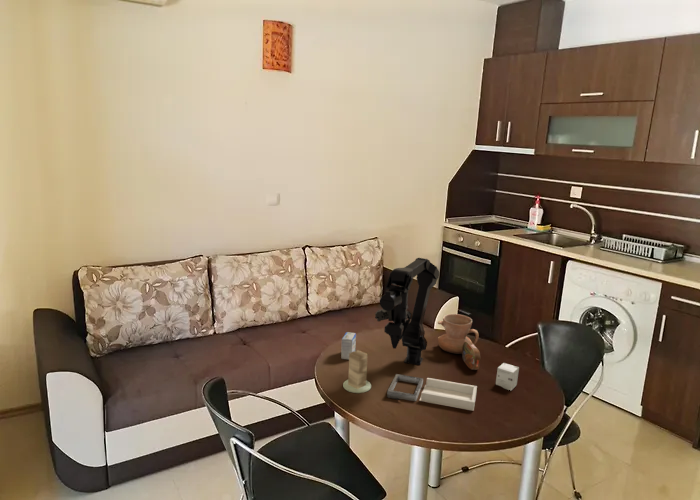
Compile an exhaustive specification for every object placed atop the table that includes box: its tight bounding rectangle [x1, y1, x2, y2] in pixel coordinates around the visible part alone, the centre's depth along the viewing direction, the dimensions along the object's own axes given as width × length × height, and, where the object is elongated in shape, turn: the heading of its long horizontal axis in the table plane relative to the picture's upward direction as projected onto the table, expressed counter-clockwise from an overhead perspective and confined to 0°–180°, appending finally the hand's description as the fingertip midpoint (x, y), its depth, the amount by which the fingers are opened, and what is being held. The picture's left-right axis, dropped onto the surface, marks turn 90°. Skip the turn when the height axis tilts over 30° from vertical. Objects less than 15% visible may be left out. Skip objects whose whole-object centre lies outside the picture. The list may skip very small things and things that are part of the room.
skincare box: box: [495, 362, 520, 392], centre depth 187 cm, size 6×6×7 cm
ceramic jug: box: [437, 313, 480, 355], centre depth 217 cm, size 18×14×14 cm
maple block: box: [347, 349, 368, 389], centre depth 182 cm, size 4×4×12 cm
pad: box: [342, 379, 372, 394], centre depth 183 cm, size 10×10×1 cm
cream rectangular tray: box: [419, 377, 478, 412], centre depth 176 cm, size 12×18×4 cm, turn 72°
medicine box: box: [340, 331, 357, 361], centre depth 208 cm, size 8×4×9 cm, turn 168°
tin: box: [461, 341, 482, 371], centre depth 203 cm, size 15×3×8 cm, turn 5°
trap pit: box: [386, 373, 424, 402], centre depth 181 cm, size 14×10×2 cm
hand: (397, 343), depth 189 cm, fingers open, 9 cm apart
